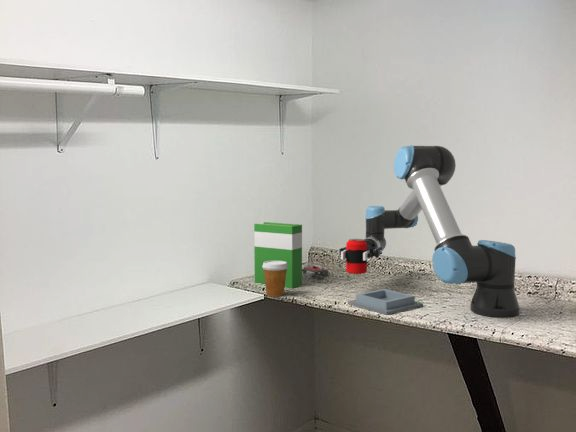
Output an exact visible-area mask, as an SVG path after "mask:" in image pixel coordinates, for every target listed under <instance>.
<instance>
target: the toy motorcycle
mask: <svg viewBox="0 0 576 432" xmlns="http://www.w3.org/2000/svg"><path fill="white" fill-rule="evenodd" d="M302 274H305V275H306V277H309V278H316V279H318V280H319V279H320V280H324V277H329V270H327V269H325V268H324V267H323V266H322V265H318V264H310V265H307V266H303V267H302Z"/></svg>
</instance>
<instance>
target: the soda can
mask: <svg viewBox="0 0 576 432" xmlns="http://www.w3.org/2000/svg"><path fill="white" fill-rule="evenodd" d="M364 239H365V238H349V239H348V241H347V242H346V244H345V247H346V258H345V261H346V262H345V271H346V273H348V274H352V275H361V274H366V273H367V270H368V259H367V260H365V261H363V253H364V252H366V251H367V243H366V242H365V240H364Z"/></svg>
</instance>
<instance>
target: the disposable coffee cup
mask: <svg viewBox="0 0 576 432" xmlns="http://www.w3.org/2000/svg"><path fill="white" fill-rule="evenodd" d="M262 267H263V269H264V277H265V285H264V286H265V293H266V296H268V297H275V298H277V297H283V296H284V294H285V280H286V271H287V267H288V265H287V262H285V261H266V262H264V263H263V266H262Z"/></svg>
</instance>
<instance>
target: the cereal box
mask: <svg viewBox="0 0 576 432" xmlns="http://www.w3.org/2000/svg"><path fill="white" fill-rule="evenodd" d="M253 225H254V226H253V227H254V228H253V229H254V230H253V232H254V233H253V235H254V236H253V237H254V239H253V240H254V241H253V242H254V243H253V244H254V246H253V247H254V251H253V252H254V284H255V283H261V284H260V285H263V284H265V277H264V269H263V267H262V266H263V263H264V262H266V261H285V262H287V265H288V267H287V271H286V280H285V287H286V289H295V288H297V287H301V286H302V285H303V272H302V269H303V224H298V223H297V224H296V223H282V222H281V223H280V222H270V221H269V222H266V221H264V222H263V224H262V223H254V224H253Z"/></svg>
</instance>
